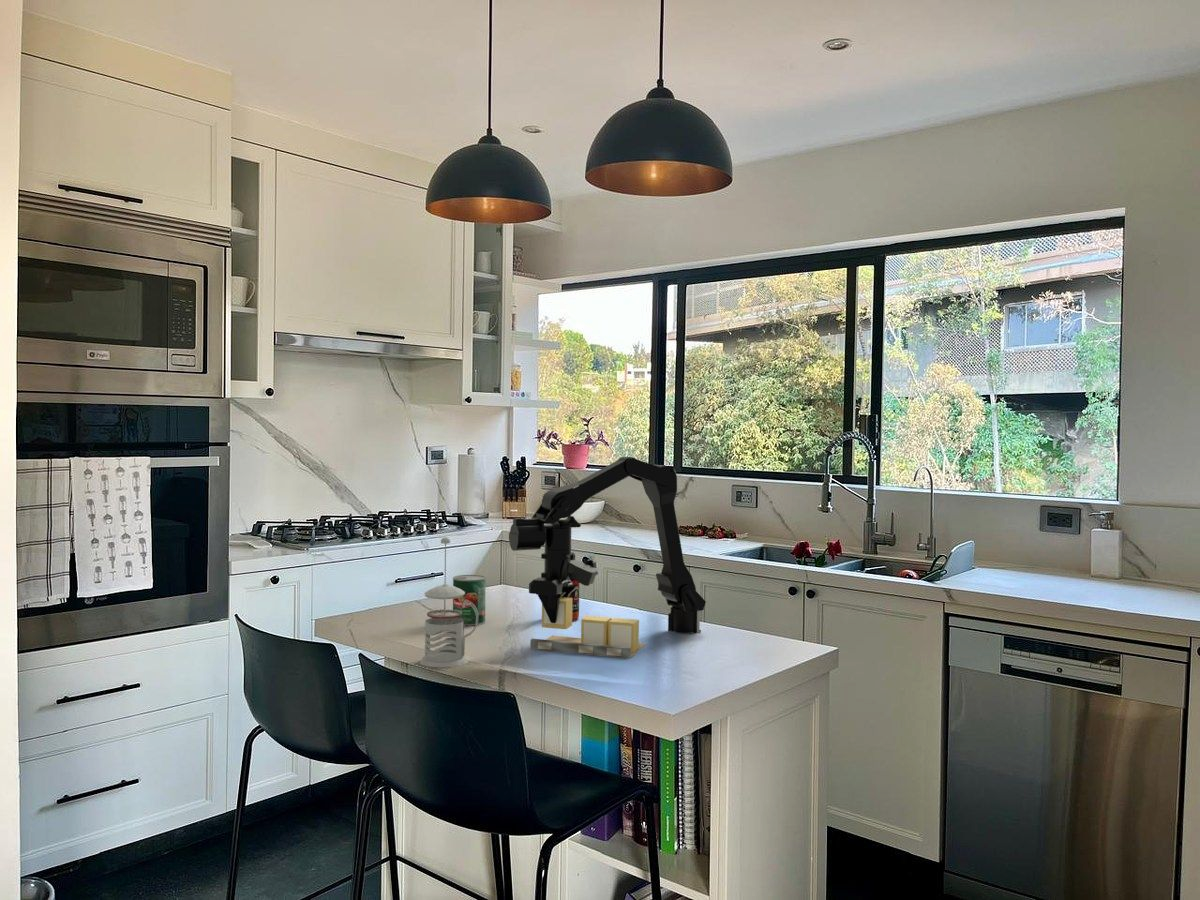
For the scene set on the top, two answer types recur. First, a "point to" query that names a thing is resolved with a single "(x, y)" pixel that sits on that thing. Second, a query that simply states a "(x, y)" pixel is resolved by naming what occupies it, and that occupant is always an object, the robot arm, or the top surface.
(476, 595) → the canned tomato
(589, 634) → the tea box
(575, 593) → the canned food
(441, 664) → the french press
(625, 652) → the shelf board
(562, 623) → the tea box turned
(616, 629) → the tea box
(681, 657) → the top surface
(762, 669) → the top surface
